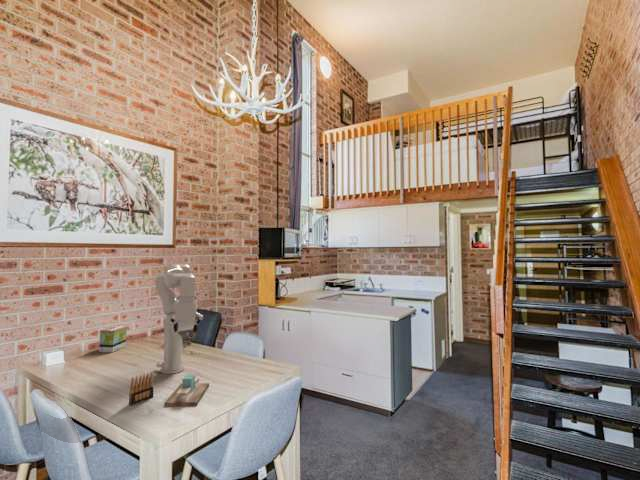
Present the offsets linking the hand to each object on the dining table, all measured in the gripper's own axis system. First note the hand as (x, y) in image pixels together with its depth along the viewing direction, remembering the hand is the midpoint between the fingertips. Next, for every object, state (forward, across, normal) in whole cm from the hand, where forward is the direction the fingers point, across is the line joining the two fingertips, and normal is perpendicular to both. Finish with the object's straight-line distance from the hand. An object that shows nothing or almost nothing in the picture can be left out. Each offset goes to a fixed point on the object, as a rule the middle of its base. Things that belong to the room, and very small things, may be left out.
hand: (185, 331), depth 177 cm
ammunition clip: (+26, -12, -21) cm, 36 cm away
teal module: (+24, +7, -16) cm, 30 cm away
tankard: (+31, -25, +79) cm, 88 cm away
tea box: (+31, -68, +61) cm, 96 cm away
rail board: (+26, +8, -16) cm, 31 cm away
